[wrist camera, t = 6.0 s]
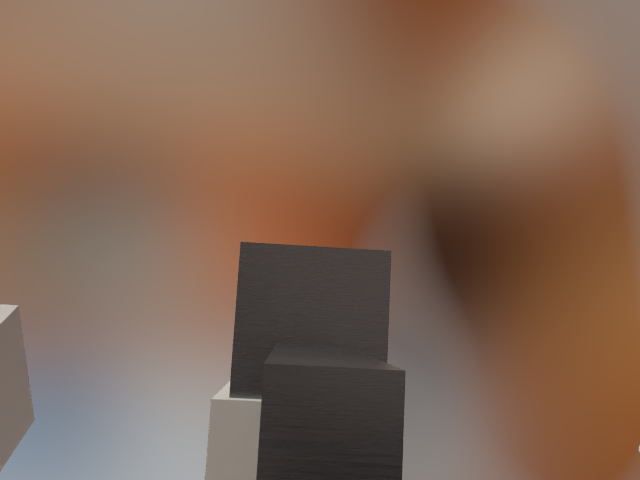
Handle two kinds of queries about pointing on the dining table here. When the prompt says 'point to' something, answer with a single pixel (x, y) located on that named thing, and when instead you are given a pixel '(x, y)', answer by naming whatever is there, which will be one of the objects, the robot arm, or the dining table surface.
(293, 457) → the steel bar
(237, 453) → the stand
